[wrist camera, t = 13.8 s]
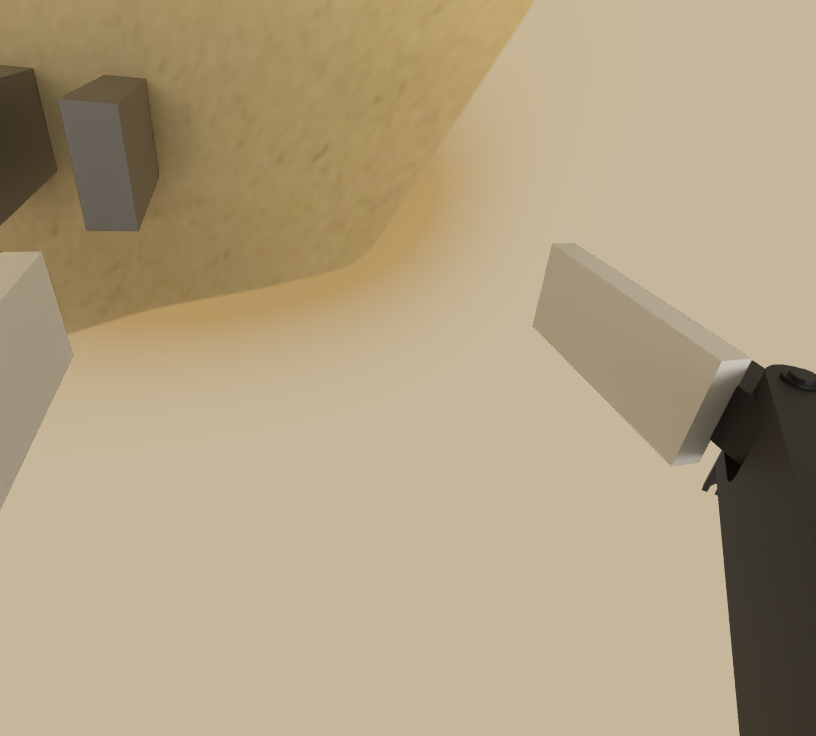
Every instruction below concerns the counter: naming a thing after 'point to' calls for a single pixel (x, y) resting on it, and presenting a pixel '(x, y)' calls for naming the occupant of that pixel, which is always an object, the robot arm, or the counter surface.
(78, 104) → the domino
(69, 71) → the counter surface
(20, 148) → the domino
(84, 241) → the counter surface
